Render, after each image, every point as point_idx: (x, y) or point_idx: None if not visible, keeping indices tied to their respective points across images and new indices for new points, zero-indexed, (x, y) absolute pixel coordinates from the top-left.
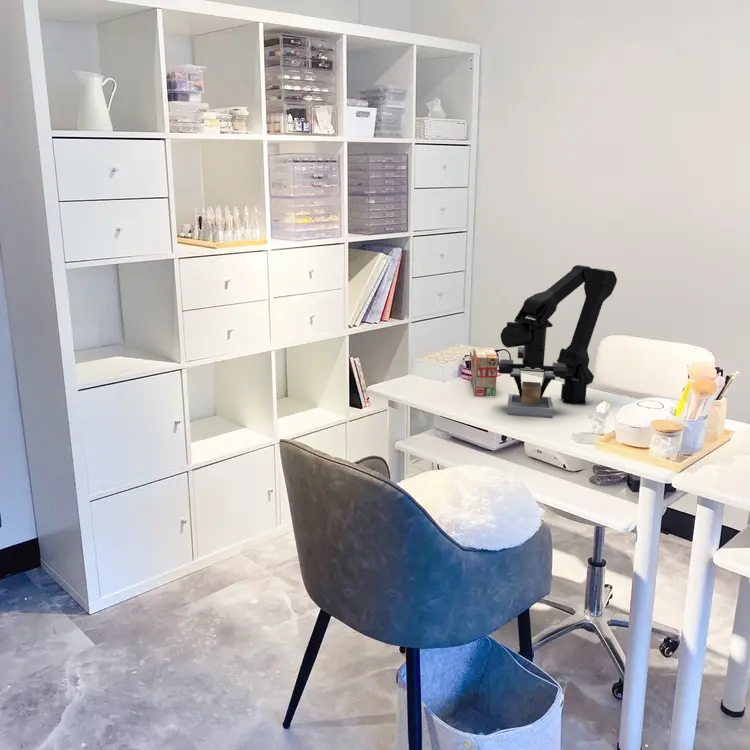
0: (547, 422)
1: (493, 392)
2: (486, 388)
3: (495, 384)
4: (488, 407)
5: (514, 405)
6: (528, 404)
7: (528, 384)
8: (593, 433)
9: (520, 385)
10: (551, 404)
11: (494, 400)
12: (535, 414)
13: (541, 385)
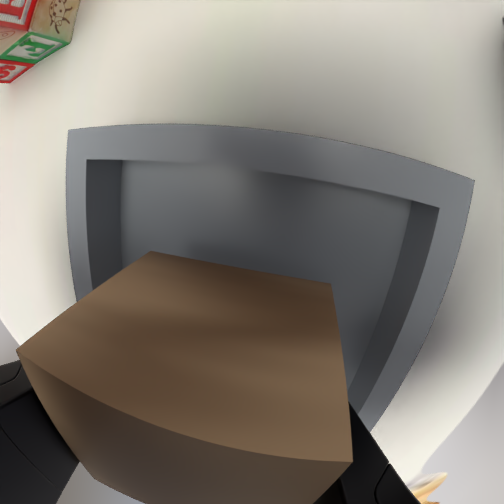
0: None
1: (45, 40)
2: (5, 56)
3: (11, 30)
4: (41, 256)
5: (137, 248)
6: (245, 209)
7: (128, 476)
8: (408, 485)
9: (71, 461)
10: (387, 398)
11: (55, 116)
12: None
13: (327, 490)
